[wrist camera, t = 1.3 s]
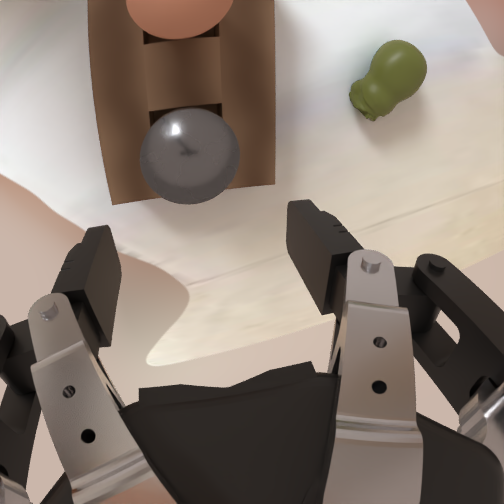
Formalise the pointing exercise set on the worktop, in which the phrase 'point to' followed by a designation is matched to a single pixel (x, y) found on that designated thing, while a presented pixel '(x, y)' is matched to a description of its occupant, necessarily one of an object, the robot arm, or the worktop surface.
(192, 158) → the grey knob
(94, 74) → the brown wooden block
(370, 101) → the pear
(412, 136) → the worktop surface
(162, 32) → the tan round knob
